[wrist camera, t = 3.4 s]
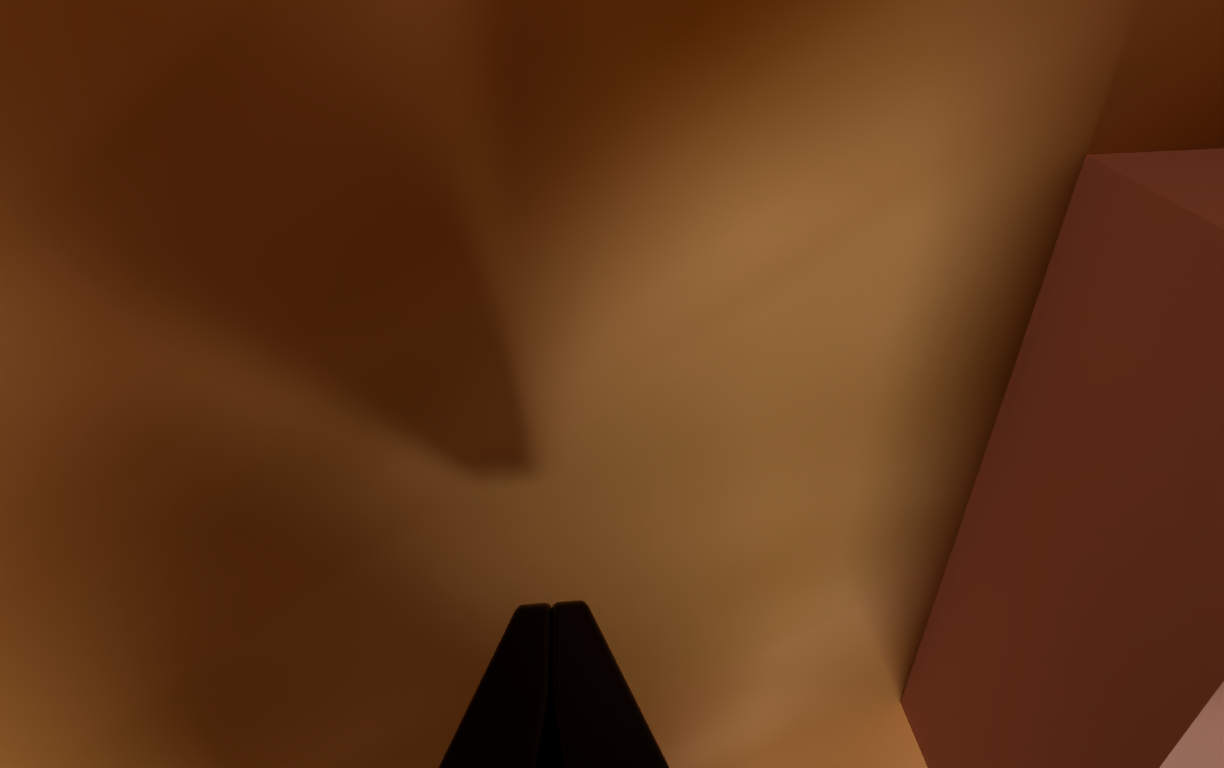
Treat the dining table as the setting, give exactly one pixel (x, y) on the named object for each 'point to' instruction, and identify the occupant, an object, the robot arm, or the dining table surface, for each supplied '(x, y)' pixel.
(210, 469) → the dining table surface
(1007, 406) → the t block
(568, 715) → the robot arm
